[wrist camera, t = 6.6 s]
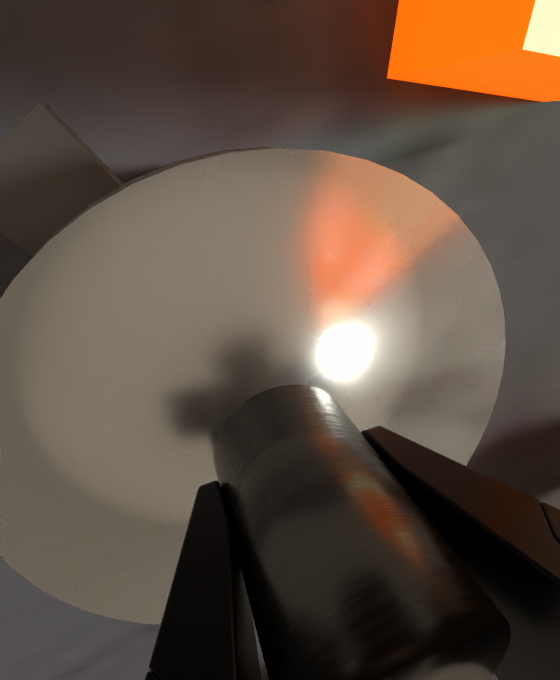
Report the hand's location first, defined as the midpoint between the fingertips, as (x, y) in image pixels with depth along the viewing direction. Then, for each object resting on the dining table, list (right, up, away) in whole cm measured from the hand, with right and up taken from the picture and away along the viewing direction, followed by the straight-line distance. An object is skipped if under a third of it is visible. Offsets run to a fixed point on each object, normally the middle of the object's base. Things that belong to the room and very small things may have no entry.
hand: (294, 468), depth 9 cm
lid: (-1, +1, +1) cm, 2 cm away
